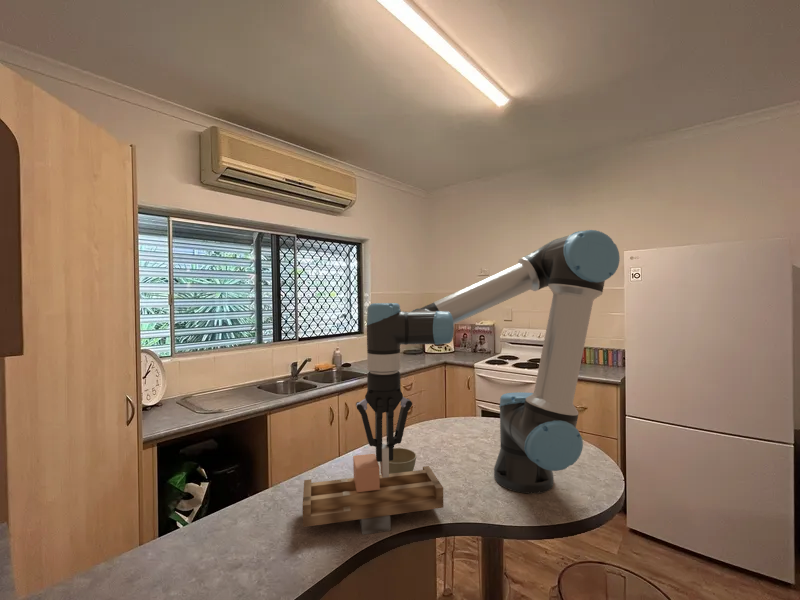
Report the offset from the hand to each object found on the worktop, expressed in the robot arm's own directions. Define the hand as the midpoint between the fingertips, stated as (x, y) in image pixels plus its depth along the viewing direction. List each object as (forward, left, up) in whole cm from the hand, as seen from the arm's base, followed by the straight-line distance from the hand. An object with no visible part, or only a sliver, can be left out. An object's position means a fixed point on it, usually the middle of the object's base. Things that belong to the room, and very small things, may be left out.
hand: (384, 474), depth 86 cm
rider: (+3, +2, -4) cm, 6 cm away
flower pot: (+3, -15, -9) cm, 18 cm away
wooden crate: (+2, +2, -9) cm, 10 cm away
